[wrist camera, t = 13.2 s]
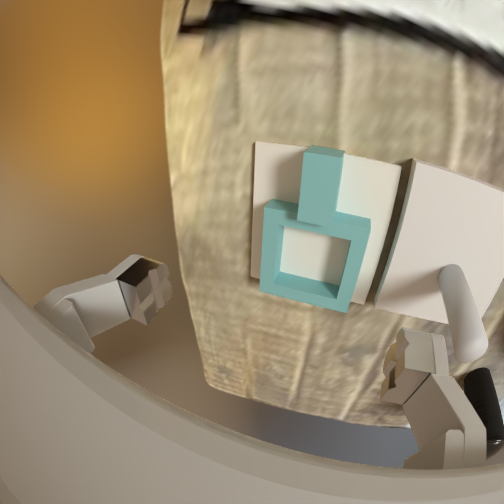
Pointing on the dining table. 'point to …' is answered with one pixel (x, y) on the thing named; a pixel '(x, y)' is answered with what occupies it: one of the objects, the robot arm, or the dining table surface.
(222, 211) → the dining table surface
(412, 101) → the dining table surface
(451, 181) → the post stand
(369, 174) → the mat
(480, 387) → the drinking cup
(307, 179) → the teal square ring handle
